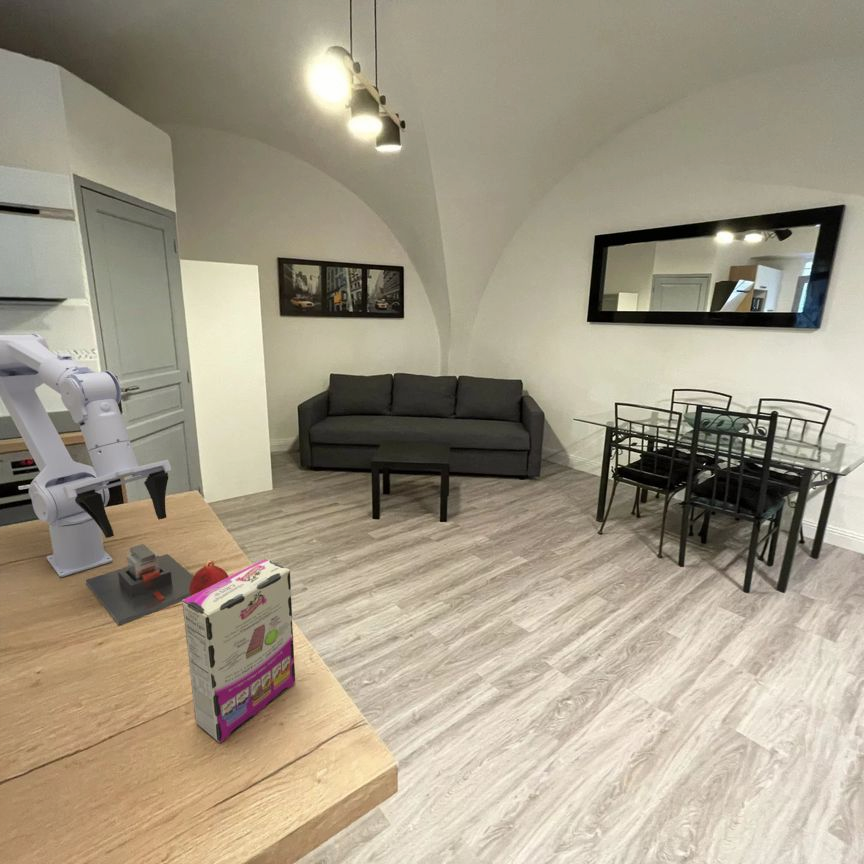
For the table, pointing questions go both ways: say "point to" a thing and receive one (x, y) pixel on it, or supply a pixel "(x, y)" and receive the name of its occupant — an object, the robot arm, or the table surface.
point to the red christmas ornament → (206, 577)
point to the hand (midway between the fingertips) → (137, 527)
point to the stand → (141, 590)
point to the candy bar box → (239, 646)
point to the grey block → (142, 561)
